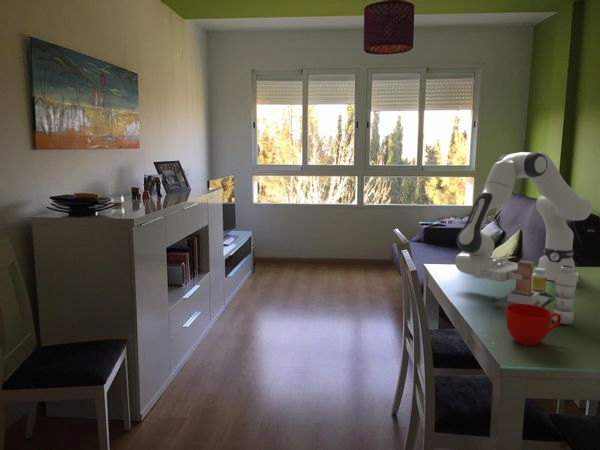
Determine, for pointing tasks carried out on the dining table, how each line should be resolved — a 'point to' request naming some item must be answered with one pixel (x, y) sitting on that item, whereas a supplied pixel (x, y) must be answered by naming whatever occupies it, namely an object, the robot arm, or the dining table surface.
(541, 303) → the collar board
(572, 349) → the dining table surface
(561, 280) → the plastic bottle
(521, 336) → the ceramic cup
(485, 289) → the dining table surface
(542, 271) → the supplement bottle
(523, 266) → the terracotta peg
